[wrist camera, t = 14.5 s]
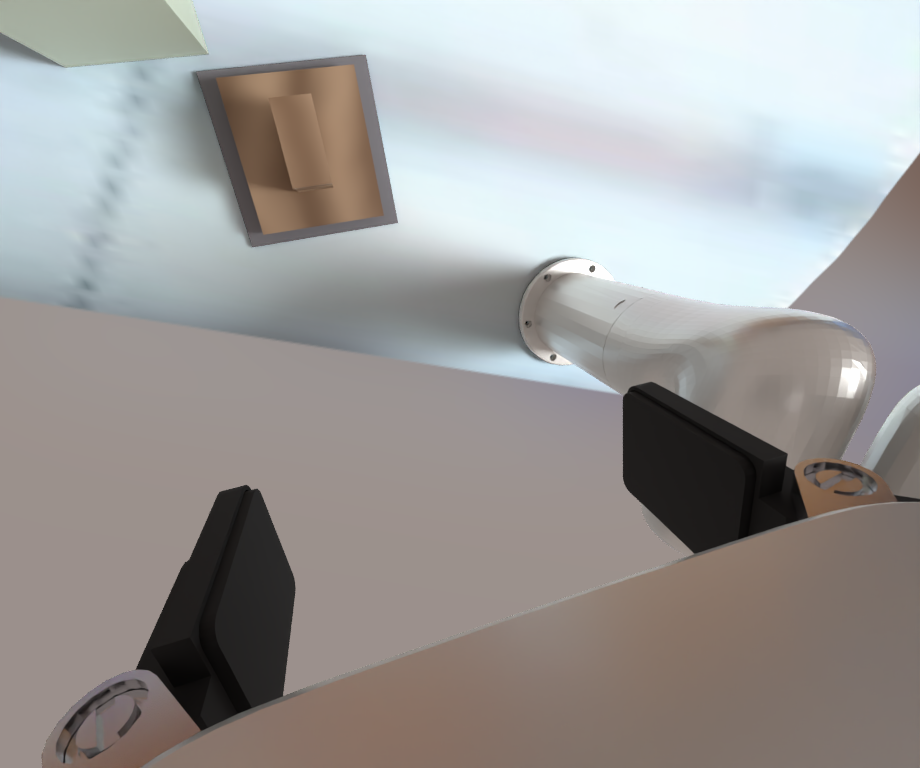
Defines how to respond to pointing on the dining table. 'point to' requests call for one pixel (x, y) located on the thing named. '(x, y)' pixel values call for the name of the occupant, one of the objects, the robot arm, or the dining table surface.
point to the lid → (303, 146)
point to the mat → (236, 168)
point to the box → (104, 29)
